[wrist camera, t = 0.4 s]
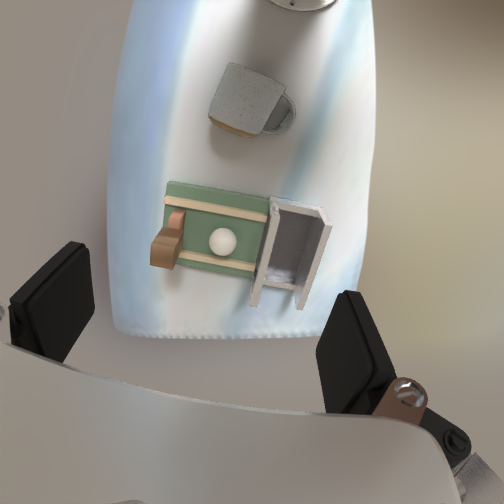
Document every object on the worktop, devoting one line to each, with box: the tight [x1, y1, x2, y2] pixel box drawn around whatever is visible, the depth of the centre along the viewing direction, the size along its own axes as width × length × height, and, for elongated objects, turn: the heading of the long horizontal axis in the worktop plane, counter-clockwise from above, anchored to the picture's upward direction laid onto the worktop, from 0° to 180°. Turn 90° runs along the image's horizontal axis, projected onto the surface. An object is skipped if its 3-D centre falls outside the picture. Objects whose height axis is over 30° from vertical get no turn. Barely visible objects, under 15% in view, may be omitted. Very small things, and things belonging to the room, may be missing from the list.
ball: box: [209, 228, 237, 256], centre depth 44 cm, size 4×4×4 cm
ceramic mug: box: [208, 63, 296, 138], centre depth 35 cm, size 11×8×8 cm
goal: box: [250, 196, 332, 310], centre depth 45 cm, size 14×8×8 cm, turn 169°
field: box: [163, 181, 269, 278], centre depth 46 cm, size 13×15×2 cm
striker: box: [150, 209, 186, 270], centre depth 41 cm, size 6×3×9 cm, turn 169°
